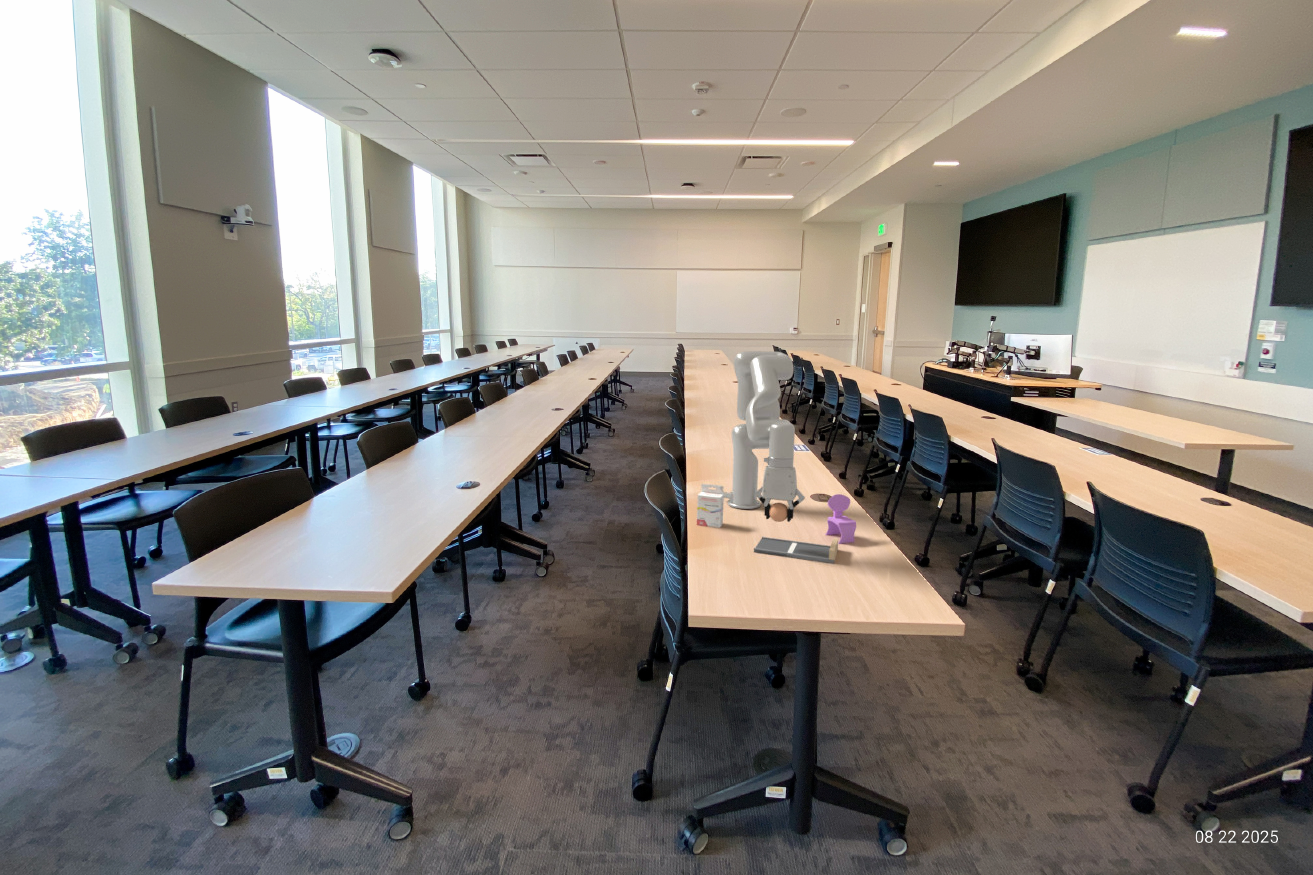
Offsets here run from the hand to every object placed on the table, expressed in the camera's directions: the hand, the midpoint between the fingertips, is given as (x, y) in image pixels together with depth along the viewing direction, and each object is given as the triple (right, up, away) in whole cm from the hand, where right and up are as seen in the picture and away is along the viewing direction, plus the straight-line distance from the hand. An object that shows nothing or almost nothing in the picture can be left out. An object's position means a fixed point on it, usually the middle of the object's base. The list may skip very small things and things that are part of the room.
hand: (778, 518), depth 187 cm
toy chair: (+22, -9, +11) cm, 26 cm away
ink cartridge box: (-19, -6, +24) cm, 31 cm away
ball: (0, -1, 0) cm, 1 cm away
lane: (+5, -10, 0) cm, 11 cm away
